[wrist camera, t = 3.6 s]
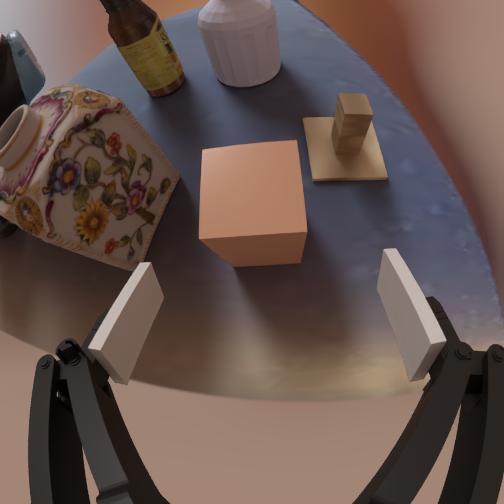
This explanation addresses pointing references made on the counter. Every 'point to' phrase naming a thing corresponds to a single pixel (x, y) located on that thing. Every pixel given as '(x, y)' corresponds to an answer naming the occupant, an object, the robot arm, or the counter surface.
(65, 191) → the decorative jar
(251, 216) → the peach block
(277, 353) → the counter surface
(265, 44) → the soap bottle
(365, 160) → the post
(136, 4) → the sauce bottle
